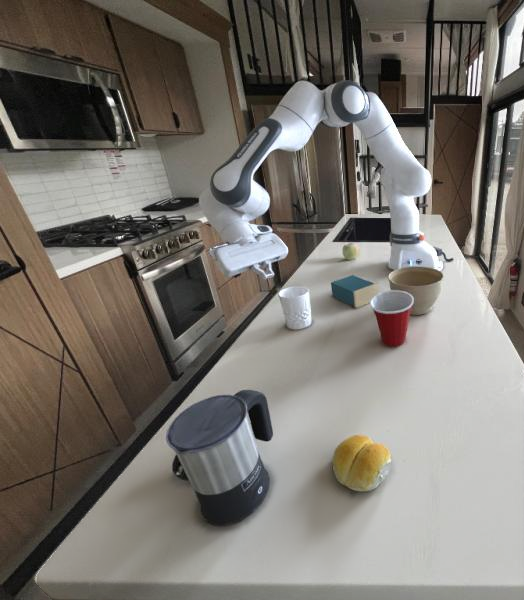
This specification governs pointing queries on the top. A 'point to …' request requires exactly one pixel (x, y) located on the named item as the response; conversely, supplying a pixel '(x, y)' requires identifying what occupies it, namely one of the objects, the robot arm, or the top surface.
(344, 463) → the bread roll
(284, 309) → the white cup
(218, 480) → the milk frother
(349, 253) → the fruit
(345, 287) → the teal and cream block
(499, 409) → the top surface
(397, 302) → the plastic cup
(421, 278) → the planter bowl
